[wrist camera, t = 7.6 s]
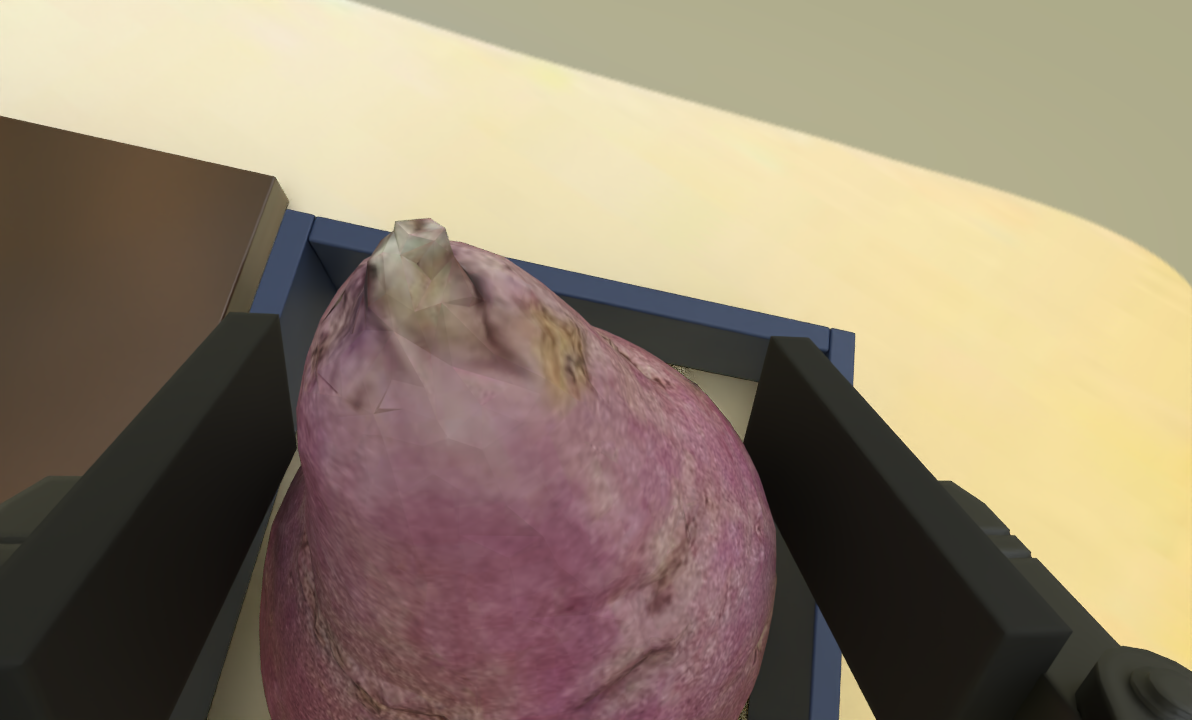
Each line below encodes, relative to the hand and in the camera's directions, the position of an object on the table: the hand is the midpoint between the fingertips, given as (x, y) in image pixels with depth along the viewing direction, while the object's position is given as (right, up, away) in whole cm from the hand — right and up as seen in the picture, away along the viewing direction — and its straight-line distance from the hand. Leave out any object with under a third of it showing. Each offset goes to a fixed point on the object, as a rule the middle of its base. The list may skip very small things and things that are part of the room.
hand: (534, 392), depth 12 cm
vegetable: (-1, -5, +5) cm, 7 cm away
